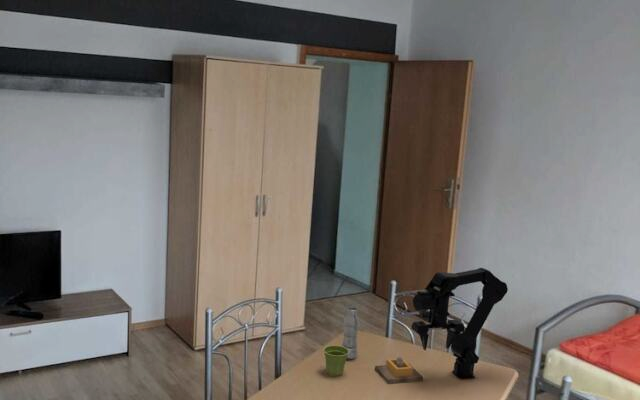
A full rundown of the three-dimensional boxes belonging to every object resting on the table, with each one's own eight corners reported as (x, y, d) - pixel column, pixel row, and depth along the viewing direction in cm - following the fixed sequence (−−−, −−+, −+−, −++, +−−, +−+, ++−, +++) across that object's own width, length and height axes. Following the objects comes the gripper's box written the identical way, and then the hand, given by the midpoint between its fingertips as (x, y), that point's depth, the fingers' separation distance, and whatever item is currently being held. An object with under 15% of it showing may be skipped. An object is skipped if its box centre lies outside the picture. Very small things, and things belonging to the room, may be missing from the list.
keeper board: (408, 367, 252) (410, 349, 251) (422, 380, 241) (424, 362, 240) (374, 369, 248) (376, 351, 246) (387, 383, 236) (389, 365, 235)
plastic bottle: (357, 355, 260) (361, 306, 257) (356, 362, 253) (360, 312, 250) (341, 353, 260) (344, 305, 257) (339, 360, 254) (343, 310, 250)
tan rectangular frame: (401, 365, 249) (402, 358, 249) (412, 375, 241) (413, 368, 240) (385, 366, 247) (386, 359, 247) (395, 377, 239) (396, 369, 238)
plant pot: (345, 379, 237) (346, 357, 236) (319, 375, 239) (321, 353, 237) (349, 369, 246) (351, 347, 245) (324, 365, 248) (326, 343, 246)
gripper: (451, 300, 248) (447, 339, 250) (406, 301, 242) (403, 342, 245) (467, 309, 237) (462, 350, 240) (420, 312, 232) (416, 354, 234)
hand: (435, 349), depth 240 cm, fingers open, 9 cm apart
